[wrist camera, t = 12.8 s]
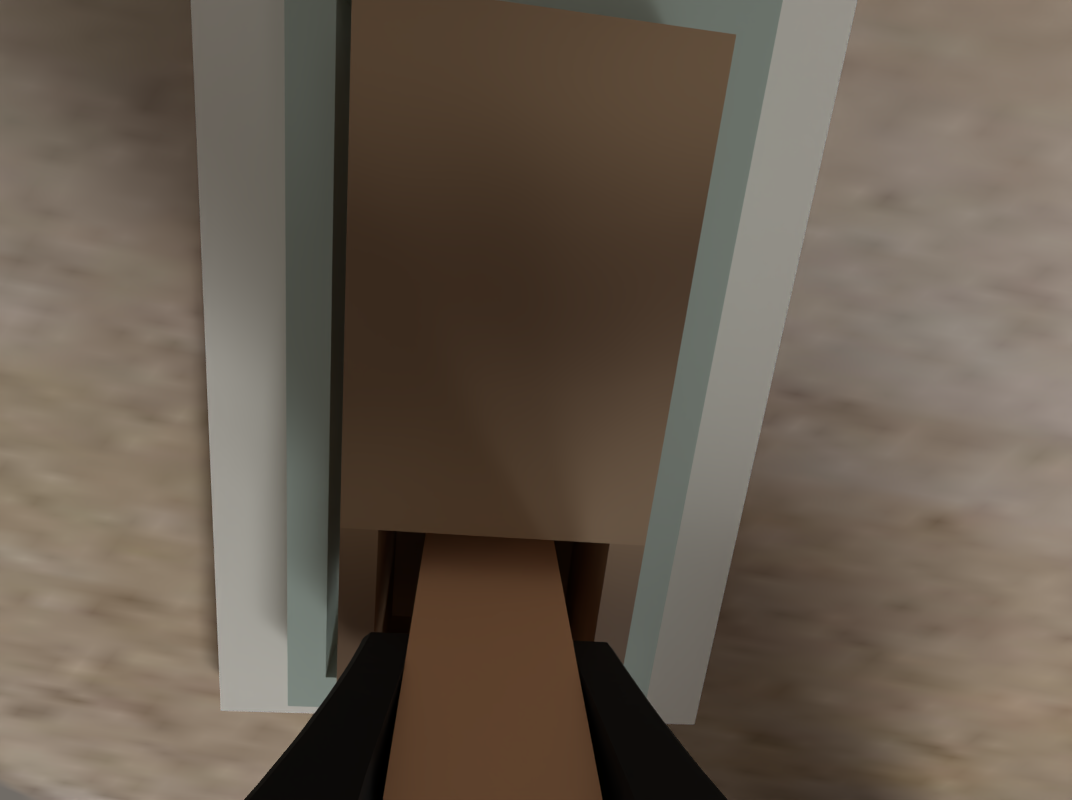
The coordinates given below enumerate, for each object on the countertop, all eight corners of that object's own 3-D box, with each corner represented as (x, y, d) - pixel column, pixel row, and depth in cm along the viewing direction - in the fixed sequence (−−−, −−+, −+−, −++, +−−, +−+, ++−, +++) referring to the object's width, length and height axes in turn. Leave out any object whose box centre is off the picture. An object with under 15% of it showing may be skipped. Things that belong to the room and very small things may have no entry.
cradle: (685, 702, 18) (712, 772, 16) (232, 686, 17) (196, 760, 15) (849, -51, 13) (923, -98, 11) (202, -155, 12) (138, -233, 9)
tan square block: (536, 618, 14) (577, 957, 8) (423, 613, 14) (375, 960, 8) (549, 518, 13) (604, 808, 7) (429, 511, 13) (382, 806, 7)
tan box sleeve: (579, 616, 16) (608, 747, 12) (371, 606, 16) (335, 741, 12) (660, 78, 13) (736, 34, 9) (392, 42, 12) (351, -21, 8)
